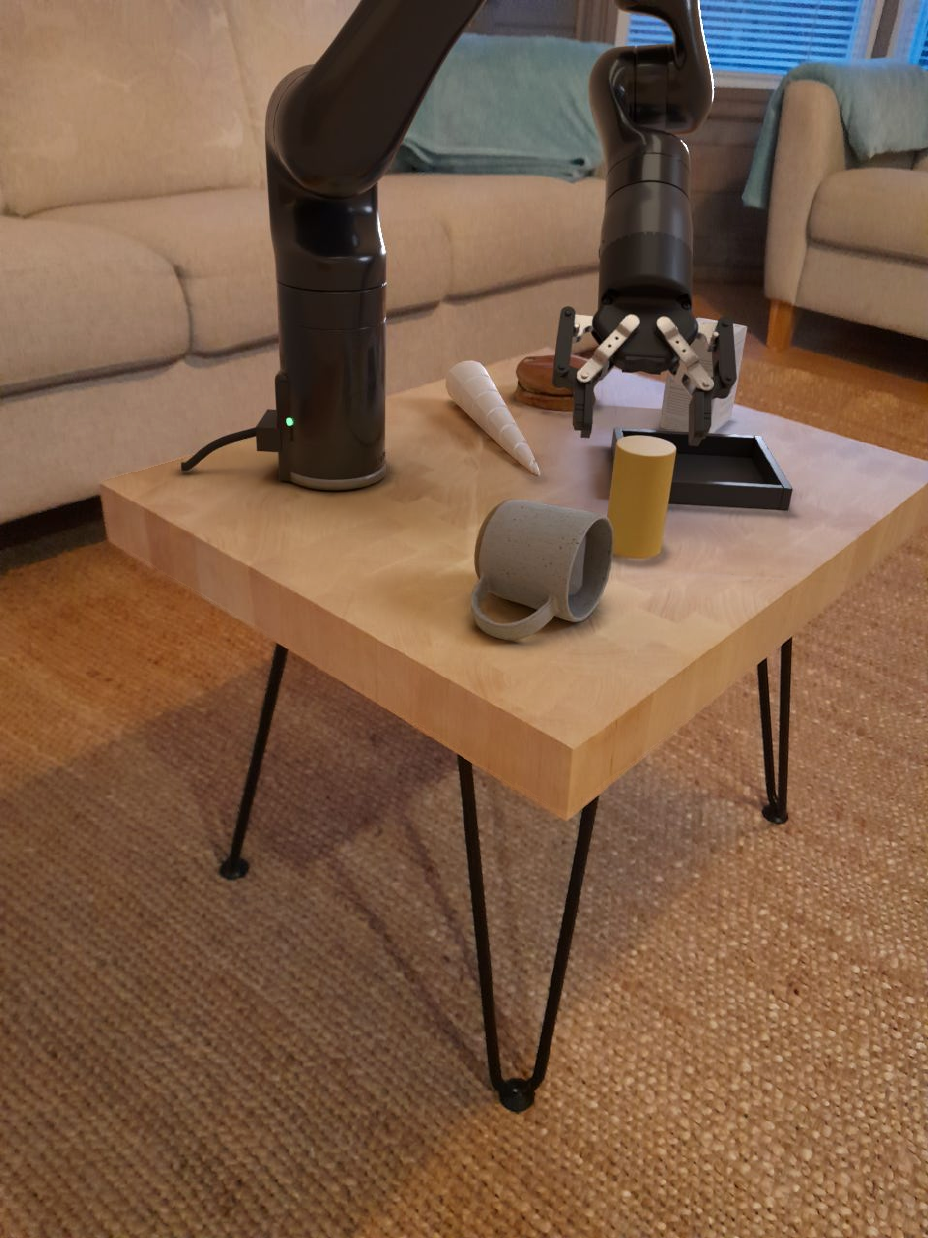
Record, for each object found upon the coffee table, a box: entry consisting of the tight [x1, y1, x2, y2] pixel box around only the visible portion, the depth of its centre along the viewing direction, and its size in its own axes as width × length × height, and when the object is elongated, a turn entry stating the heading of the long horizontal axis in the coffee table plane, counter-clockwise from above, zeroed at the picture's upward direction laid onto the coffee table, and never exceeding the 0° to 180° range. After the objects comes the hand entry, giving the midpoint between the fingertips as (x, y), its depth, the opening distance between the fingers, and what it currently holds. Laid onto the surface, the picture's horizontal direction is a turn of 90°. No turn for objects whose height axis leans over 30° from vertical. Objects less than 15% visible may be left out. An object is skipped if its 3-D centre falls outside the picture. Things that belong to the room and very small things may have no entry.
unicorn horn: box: [445, 359, 541, 476], centre depth 105 cm, size 5×24×5 cm, turn 13°
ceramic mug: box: [470, 499, 614, 641], centre depth 73 cm, size 11×8×8 cm
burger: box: [513, 354, 597, 412], centre depth 117 cm, size 10×9×5 cm
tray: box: [610, 427, 794, 511], centre depth 98 cm, size 15×14×2 cm
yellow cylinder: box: [606, 436, 676, 560], centre depth 82 cm, size 5×5×9 cm
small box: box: [659, 317, 748, 434], centre depth 110 cm, size 8×6×10 cm
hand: (641, 437), depth 81 cm, fingers open, 8 cm apart
